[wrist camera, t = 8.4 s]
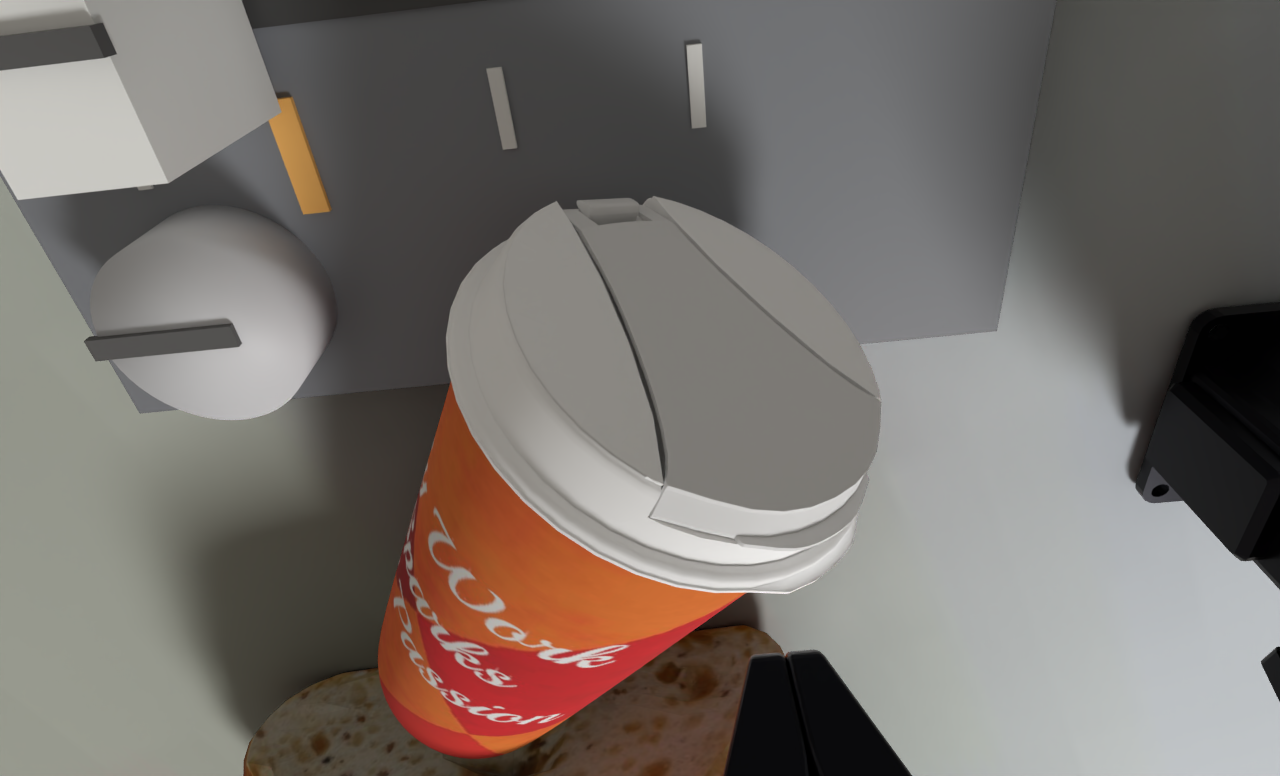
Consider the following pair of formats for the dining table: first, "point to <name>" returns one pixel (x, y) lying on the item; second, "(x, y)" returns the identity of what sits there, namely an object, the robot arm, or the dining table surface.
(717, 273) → the coffee cup
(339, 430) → the dining table surface
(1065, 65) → the dining table surface
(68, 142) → the fader
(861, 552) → the dining table surface
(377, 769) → the bread
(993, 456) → the dining table surface
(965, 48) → the console
